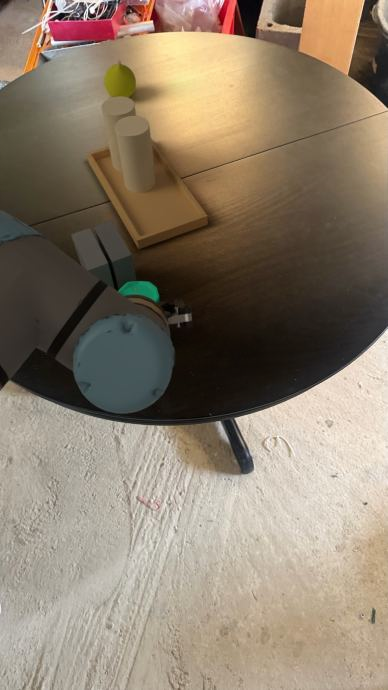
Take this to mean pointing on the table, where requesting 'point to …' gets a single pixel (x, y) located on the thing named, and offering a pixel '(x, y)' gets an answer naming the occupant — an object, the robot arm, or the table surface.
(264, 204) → the table surface
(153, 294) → the candle
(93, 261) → the grey book
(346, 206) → the table surface
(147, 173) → the cream candle
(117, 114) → the cream candle
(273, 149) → the table surface
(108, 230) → the grey book
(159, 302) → the robot arm
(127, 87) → the ornament
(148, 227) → the tray
